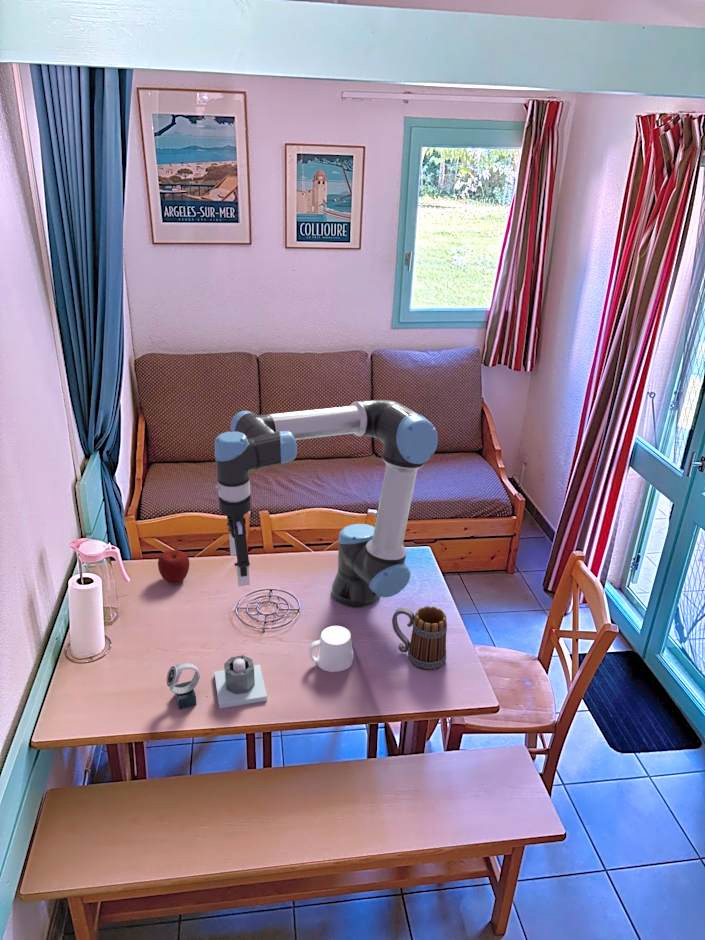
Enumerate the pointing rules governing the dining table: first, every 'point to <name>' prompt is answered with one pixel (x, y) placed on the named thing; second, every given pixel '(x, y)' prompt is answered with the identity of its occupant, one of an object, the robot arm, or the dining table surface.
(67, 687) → the dining table surface
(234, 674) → the collar
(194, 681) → the watch
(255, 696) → the post block
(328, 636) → the mug
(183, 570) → the apple
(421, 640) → the mug
